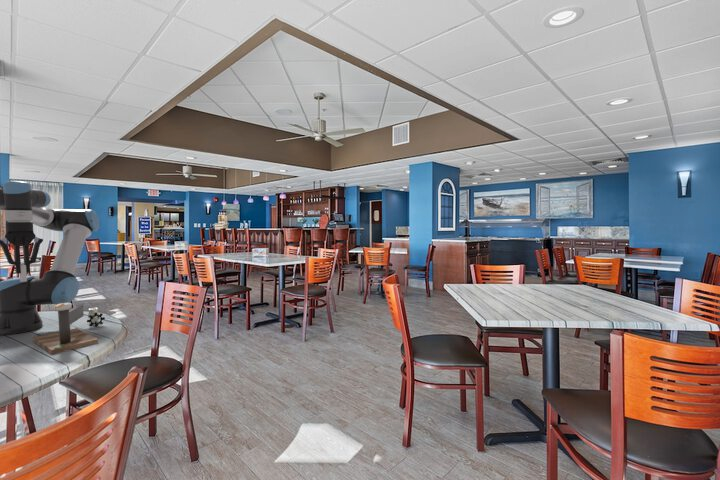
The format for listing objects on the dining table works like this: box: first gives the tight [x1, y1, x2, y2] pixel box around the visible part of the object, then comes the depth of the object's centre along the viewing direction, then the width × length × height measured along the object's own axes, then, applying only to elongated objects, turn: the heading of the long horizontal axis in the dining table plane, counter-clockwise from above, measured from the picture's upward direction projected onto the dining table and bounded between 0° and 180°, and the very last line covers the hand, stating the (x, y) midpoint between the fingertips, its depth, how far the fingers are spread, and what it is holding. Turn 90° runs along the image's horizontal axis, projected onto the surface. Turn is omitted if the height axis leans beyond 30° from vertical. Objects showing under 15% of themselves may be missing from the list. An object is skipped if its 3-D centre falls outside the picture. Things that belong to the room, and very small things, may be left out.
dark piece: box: [54, 302, 84, 343], centre depth 135 cm, size 22×5×15 cm, turn 21°
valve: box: [86, 307, 106, 328], centre depth 158 cm, size 7×7×12 cm
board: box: [32, 327, 99, 355], centre depth 135 cm, size 24×14×2 cm, turn 55°
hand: (23, 281), depth 134 cm, fingers closed
